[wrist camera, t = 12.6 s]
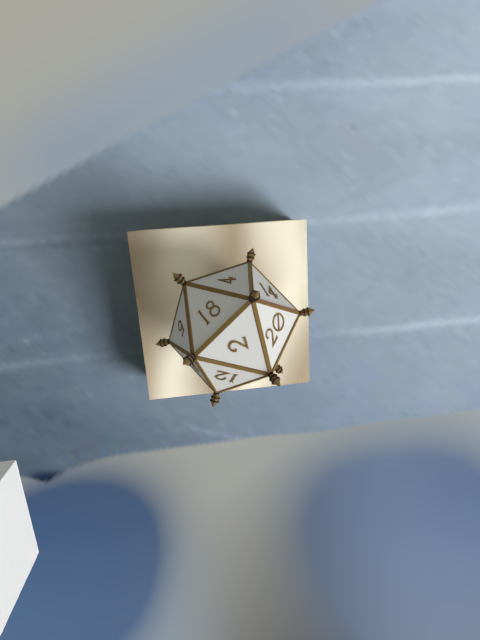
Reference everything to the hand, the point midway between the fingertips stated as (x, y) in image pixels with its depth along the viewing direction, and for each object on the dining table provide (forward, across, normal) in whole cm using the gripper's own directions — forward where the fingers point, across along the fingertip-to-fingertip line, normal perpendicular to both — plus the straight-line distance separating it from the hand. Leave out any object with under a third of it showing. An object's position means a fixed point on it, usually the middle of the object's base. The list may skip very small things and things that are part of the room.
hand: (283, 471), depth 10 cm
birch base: (+22, 0, 0) cm, 22 cm away
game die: (+18, 0, 0) cm, 18 cm away
